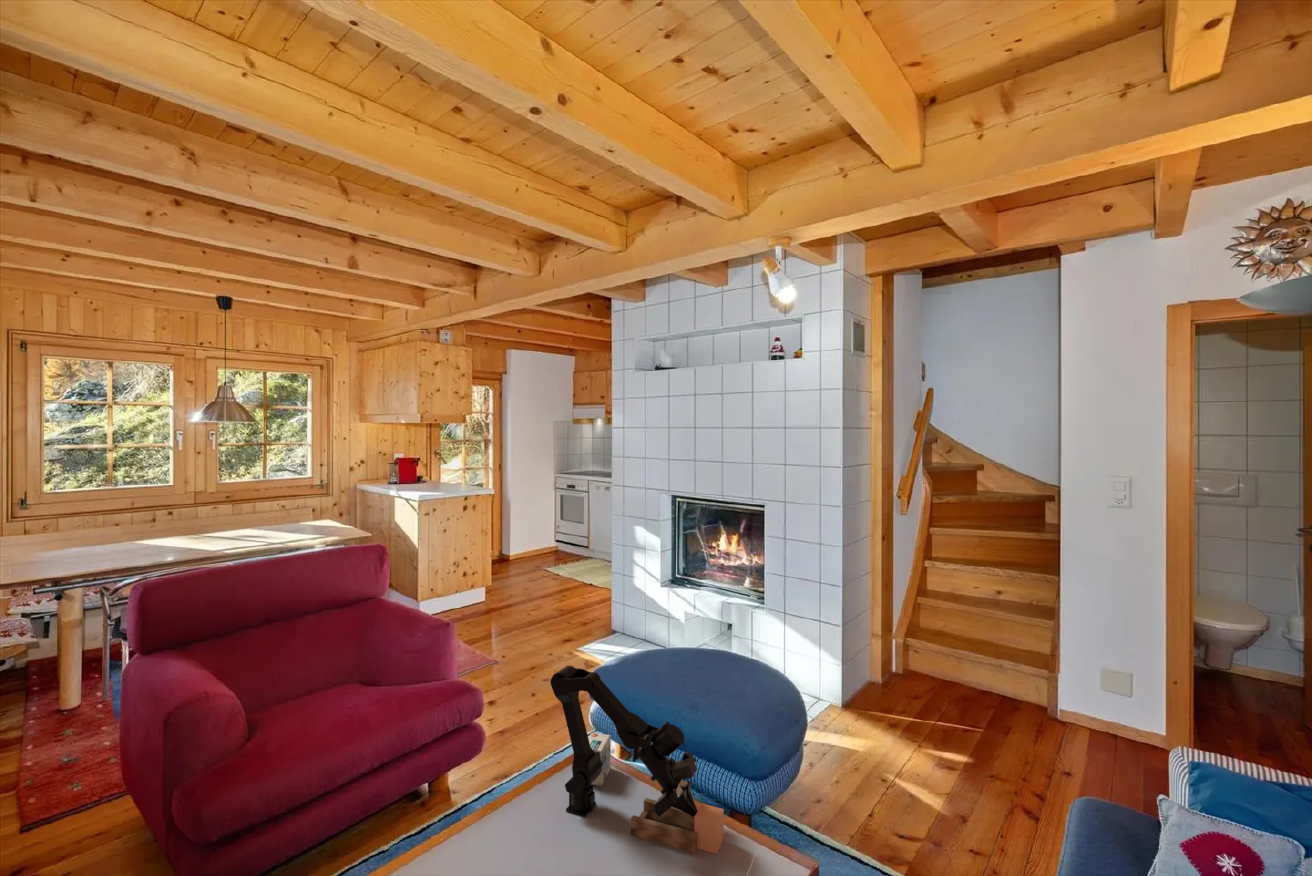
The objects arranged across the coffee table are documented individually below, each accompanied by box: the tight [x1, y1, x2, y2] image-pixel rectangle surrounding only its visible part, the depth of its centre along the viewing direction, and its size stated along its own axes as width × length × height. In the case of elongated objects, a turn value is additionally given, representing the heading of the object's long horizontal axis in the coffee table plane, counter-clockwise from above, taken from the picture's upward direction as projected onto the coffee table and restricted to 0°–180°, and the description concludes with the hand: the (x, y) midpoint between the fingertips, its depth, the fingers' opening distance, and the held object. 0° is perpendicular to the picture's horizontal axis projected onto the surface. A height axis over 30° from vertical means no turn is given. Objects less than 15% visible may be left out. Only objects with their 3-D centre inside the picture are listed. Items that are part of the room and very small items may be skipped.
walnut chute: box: [630, 797, 698, 855], centre depth 160 cm, size 18×10×4 cm, turn 67°
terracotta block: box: [693, 803, 725, 855], centre depth 156 cm, size 6×6×8 cm
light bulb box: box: [588, 732, 612, 787], centre depth 187 cm, size 11×7×11 cm, turn 168°
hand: (697, 816), depth 157 cm, fingers closed
